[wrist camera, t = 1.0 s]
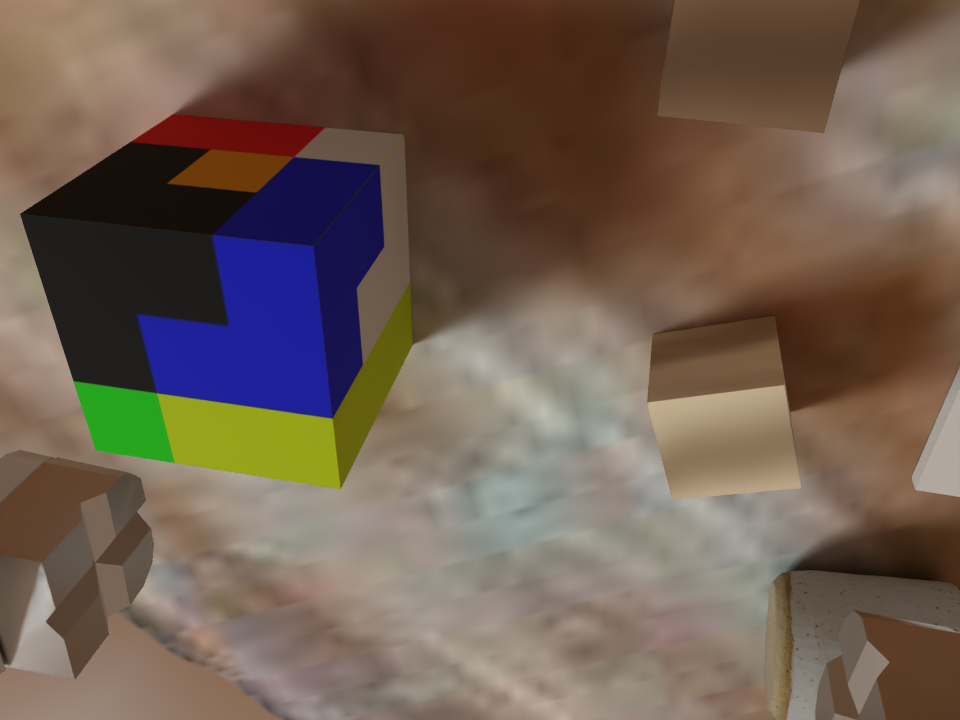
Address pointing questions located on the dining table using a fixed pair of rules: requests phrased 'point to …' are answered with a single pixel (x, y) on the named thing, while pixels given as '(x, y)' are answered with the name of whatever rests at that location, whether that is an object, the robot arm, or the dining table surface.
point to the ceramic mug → (835, 626)
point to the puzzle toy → (233, 293)
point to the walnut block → (755, 61)
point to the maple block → (722, 410)
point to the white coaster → (942, 450)
